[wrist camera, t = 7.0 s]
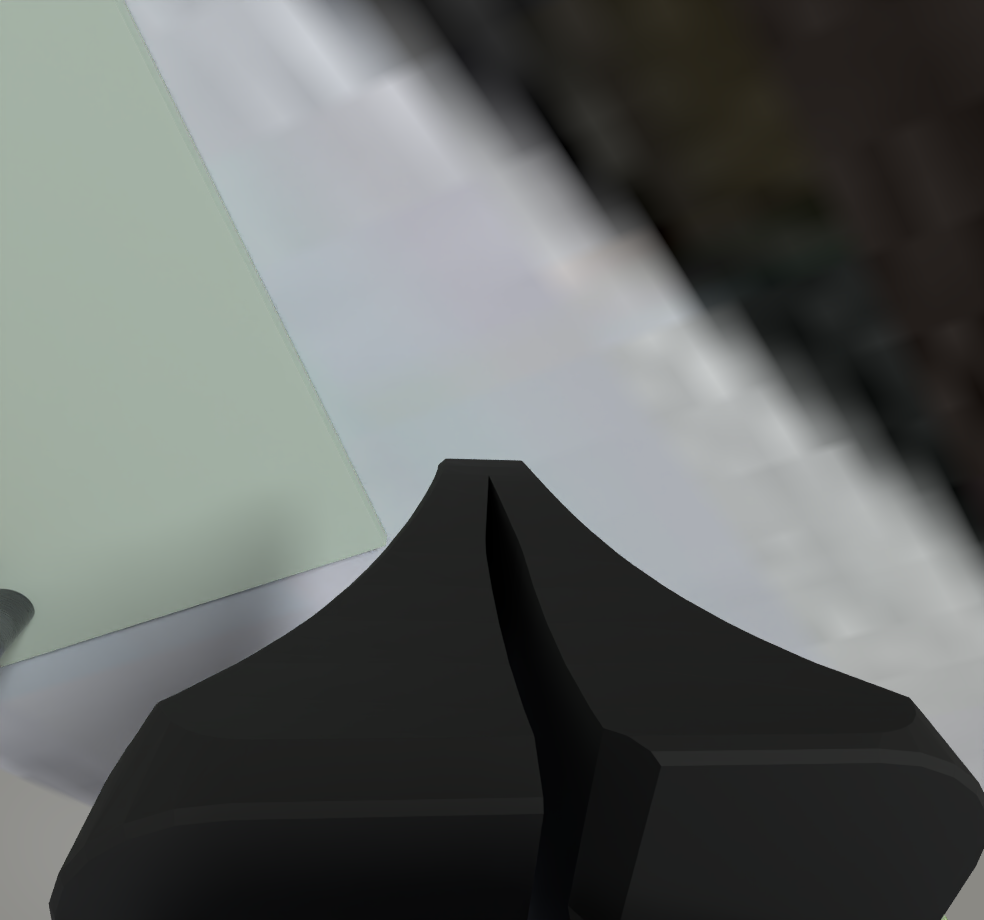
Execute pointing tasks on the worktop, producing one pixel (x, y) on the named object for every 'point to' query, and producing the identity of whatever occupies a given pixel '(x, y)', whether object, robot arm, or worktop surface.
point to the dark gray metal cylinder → (13, 616)
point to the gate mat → (139, 355)
